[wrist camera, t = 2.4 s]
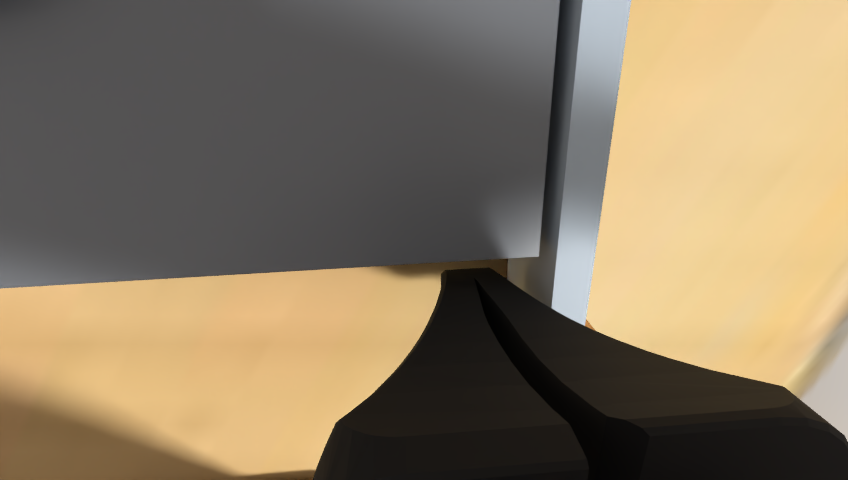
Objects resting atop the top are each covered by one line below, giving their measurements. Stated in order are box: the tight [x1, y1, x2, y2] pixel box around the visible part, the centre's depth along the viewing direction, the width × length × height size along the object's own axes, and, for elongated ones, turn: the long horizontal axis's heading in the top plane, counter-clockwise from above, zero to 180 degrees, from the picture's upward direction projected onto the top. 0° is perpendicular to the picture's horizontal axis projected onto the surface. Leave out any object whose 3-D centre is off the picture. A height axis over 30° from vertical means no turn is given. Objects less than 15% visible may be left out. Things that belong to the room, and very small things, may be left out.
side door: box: [507, 0, 631, 330], centre depth 9 cm, size 13×1×4 cm, turn 2°
